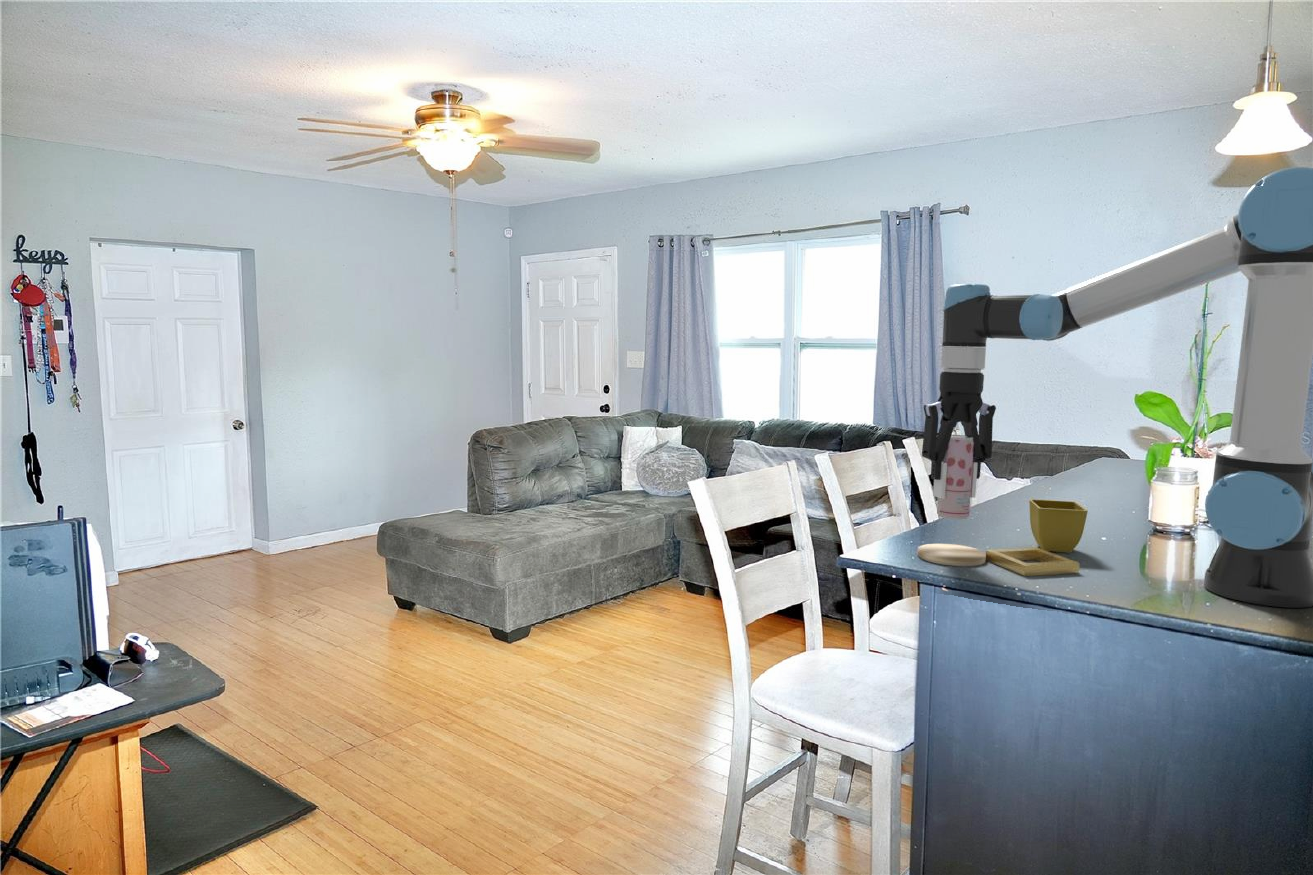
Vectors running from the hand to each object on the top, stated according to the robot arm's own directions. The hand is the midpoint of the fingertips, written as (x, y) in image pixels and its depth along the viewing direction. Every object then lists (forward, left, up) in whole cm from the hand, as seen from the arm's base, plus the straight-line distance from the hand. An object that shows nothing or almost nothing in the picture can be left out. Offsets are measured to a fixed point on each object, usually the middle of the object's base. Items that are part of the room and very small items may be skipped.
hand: (954, 496), depth 157 cm
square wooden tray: (-8, -11, -12) cm, 18 cm away
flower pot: (+2, -24, -12) cm, 27 cm away
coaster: (0, 0, -12) cm, 12 cm away
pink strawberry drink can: (0, 0, -4) cm, 4 cm away
